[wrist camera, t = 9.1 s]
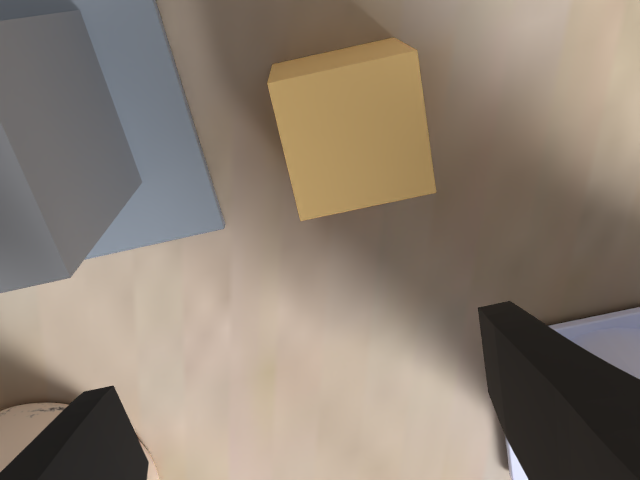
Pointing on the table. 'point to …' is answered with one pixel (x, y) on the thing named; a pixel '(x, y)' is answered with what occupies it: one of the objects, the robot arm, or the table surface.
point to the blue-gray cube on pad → (56, 150)
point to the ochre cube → (353, 127)
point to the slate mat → (144, 122)
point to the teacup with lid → (36, 430)
